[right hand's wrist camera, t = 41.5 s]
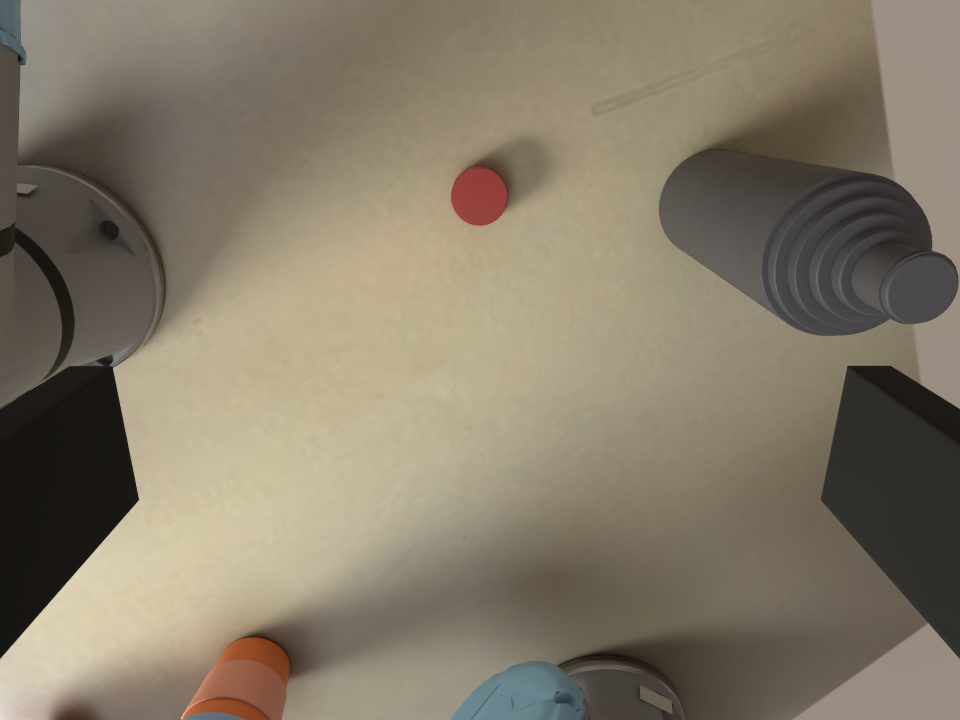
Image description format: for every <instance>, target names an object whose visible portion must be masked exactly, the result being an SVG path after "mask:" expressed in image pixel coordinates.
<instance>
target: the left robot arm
mask: <svg viewBox="0 0 960 720" xmlns="http://www.w3.org/2000/svg"><path fill="white" fill-rule="evenodd" d="M450 720H685V715H684V712H683V709H682V706H681V703H680V700H679V697H678V695H677V693H676V691H675V689H674V687H673V686H672V684H671V683H670V682H669V681H668V679H667V678H666V677H664V676H663V675H662V674H661V673H660V672H658V671H657V670H656V669H654V668H652V667H651V666H649V665H647V664H645V663H642V662H640V661H637V660H634V659H630V658H626V657H620V656H608V655H603V656H590V657H585V658H580V659H576V660H573V661H570V662H567V663H565V664H562V665H560V666H558V667H557V666H555V665H553V664H551V663H547V662H540V661H532V662H525V663H521V664H517V665H514V666H512V667H509V668H508V669H507V670H505V671H503V672H502V673H500V674H496V675H494V676H493V677H491V678H490V679H488V680H487V681H485V682H484V683H483V684H482V685H480V686H479V687H478V688H477V689H476V690H475V691H474V692H473V693H472V694H471V695H470V696H469V697H468V698H467V699H466V700H465V701H464V702H463V703H462V704H461V706H460V707H459V708H458V709H457V711H456V712H455V713H454V715H453V716H452V718H451V719H450Z"/></svg>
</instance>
